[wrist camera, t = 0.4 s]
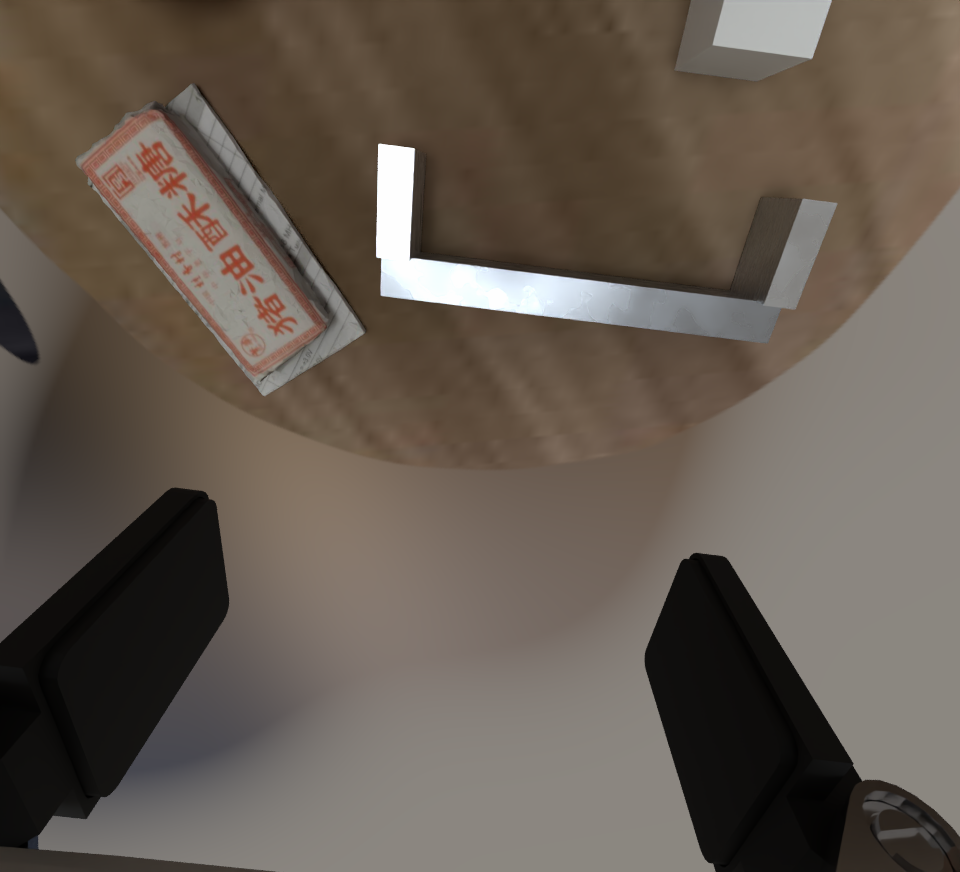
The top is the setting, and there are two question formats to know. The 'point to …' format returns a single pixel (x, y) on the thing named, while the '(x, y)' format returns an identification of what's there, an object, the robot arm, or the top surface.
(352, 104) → the top surface
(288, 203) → the top surface
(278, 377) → the packaged product
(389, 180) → the rail
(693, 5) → the block
